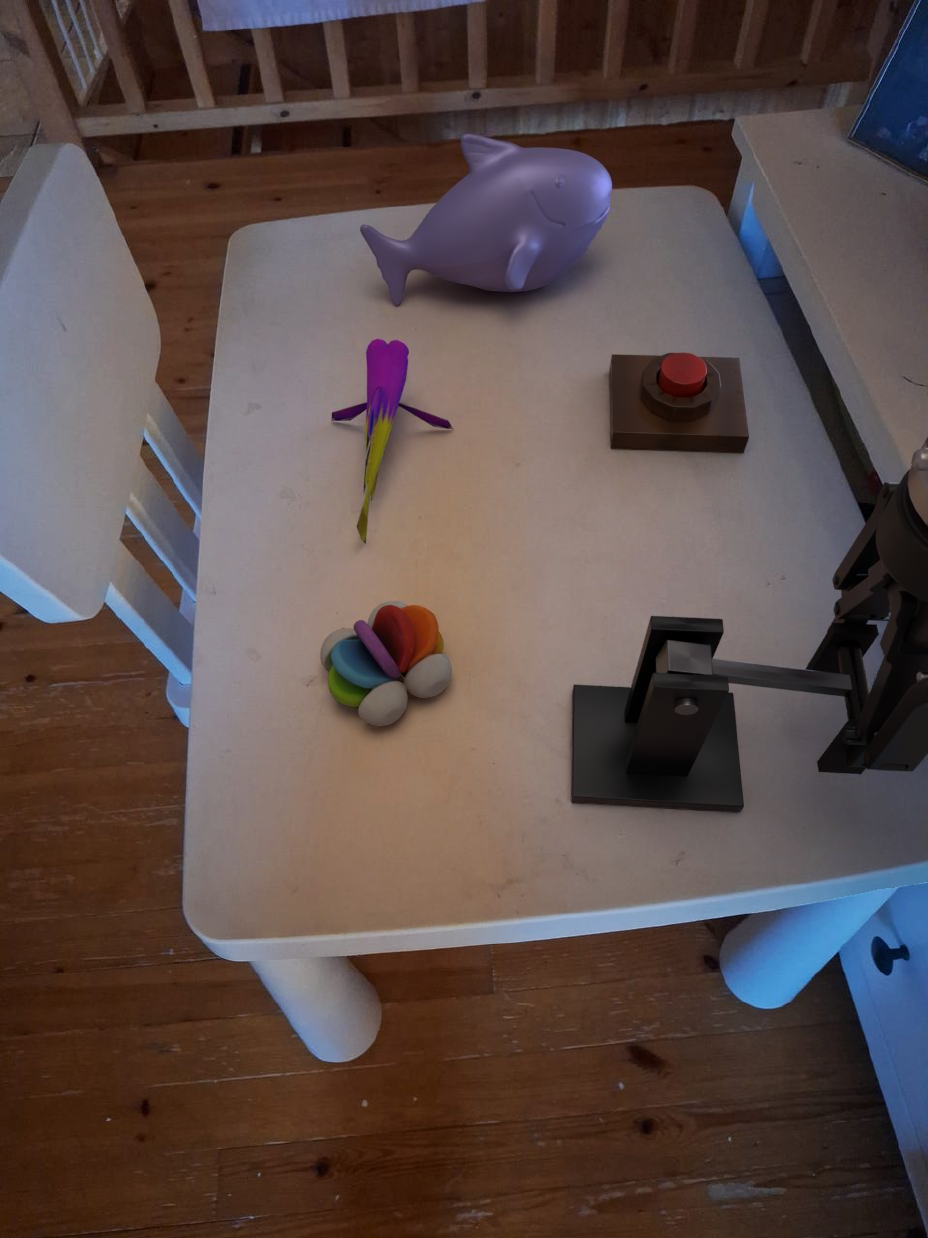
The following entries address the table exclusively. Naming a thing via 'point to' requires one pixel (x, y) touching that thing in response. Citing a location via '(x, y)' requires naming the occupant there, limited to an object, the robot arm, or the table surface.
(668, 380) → the button
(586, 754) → the bracket
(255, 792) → the table surface
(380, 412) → the toy
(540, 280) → the toy whale
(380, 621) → the fanned rainbow disc cluster
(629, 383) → the button block
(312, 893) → the table surface
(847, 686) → the t-handle lever
